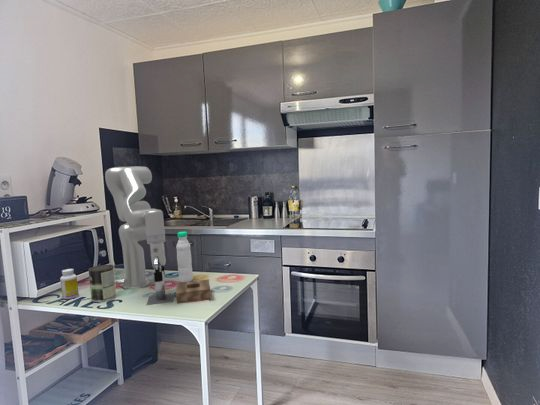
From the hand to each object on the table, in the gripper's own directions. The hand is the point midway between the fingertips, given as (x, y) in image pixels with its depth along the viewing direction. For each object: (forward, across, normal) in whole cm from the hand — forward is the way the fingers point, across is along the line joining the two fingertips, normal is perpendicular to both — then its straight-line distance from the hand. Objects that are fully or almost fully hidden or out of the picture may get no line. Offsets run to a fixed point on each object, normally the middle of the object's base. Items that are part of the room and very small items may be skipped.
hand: (159, 278), depth 150 cm
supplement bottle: (+9, +21, +42) cm, 48 cm away
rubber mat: (+10, +1, 0) cm, 10 cm away
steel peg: (+9, +1, 0) cm, 9 cm away
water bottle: (+10, +26, -10) cm, 29 cm away
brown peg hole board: (+10, 0, -14) cm, 17 cm away
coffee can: (+9, +14, +26) cm, 31 cm away
